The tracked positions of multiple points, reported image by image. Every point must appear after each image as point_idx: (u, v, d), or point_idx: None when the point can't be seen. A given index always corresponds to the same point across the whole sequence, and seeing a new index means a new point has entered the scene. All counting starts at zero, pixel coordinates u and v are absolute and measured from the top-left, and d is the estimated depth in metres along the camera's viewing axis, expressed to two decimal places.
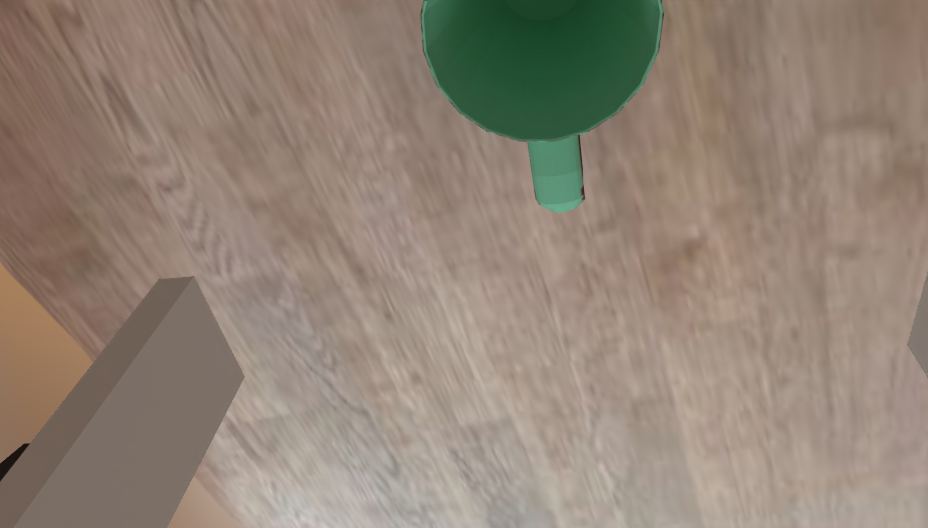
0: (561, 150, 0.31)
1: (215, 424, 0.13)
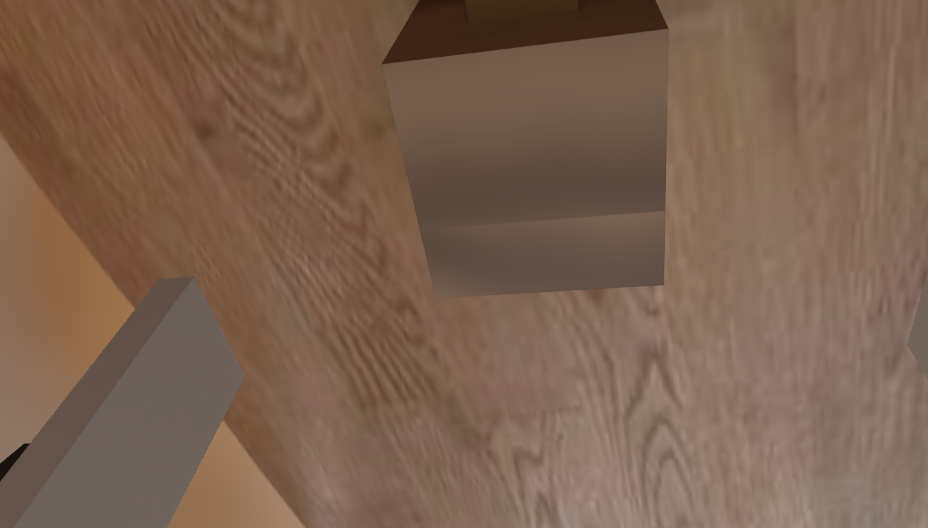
0: None
1: (215, 424, 0.13)
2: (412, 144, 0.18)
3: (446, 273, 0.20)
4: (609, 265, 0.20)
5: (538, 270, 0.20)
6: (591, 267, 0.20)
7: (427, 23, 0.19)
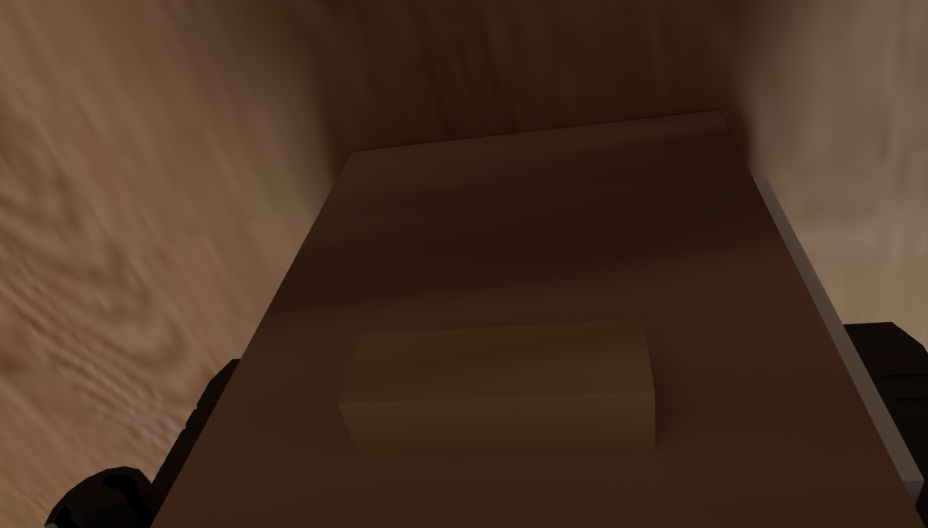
0: None
1: None
2: None
3: None
4: None
5: None
6: None
7: (265, 412, 0.08)
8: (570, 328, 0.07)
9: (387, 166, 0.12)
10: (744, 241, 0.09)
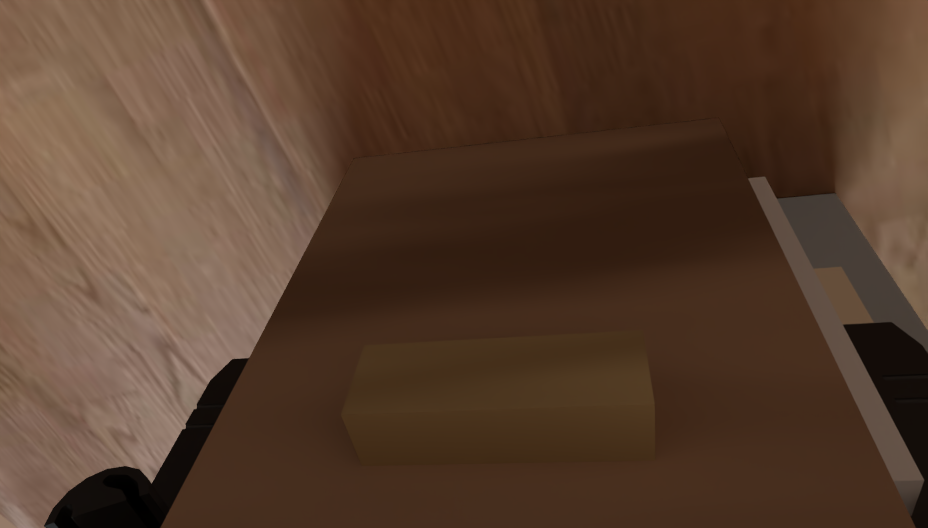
0: None
1: None
2: None
3: None
4: None
5: None
6: None
7: (269, 421, 0.08)
8: (571, 339, 0.07)
9: (389, 173, 0.13)
10: (743, 250, 0.09)
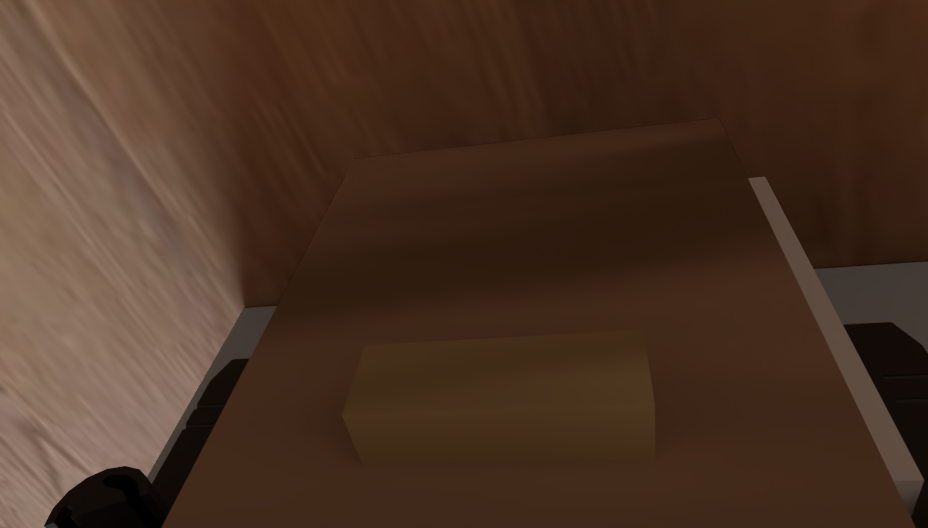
0: None
1: None
2: None
3: None
4: None
5: None
6: None
7: (269, 421, 0.08)
8: (571, 339, 0.07)
9: (389, 174, 0.13)
10: (743, 250, 0.09)
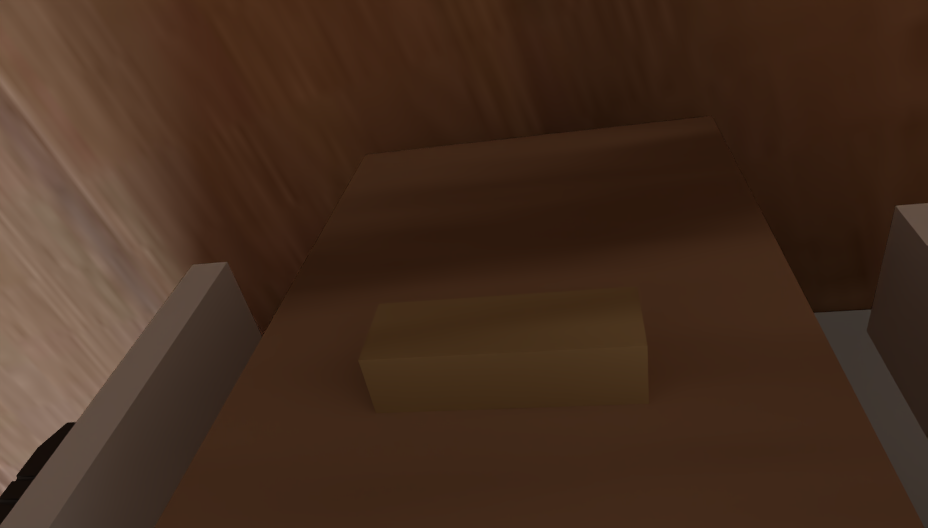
0: None
1: None
2: None
3: None
4: None
5: None
6: None
7: (289, 377, 0.08)
8: (571, 295, 0.07)
9: (399, 167, 0.13)
10: (733, 228, 0.09)
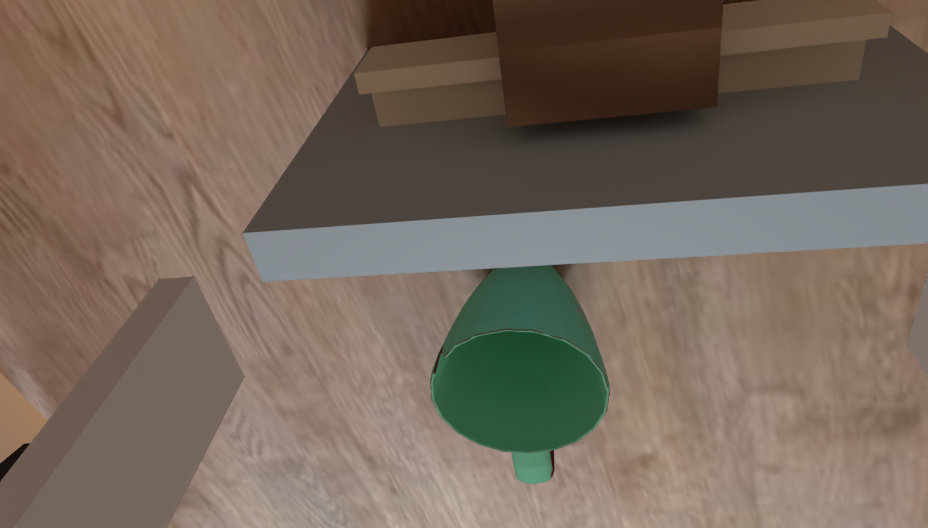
0: None
1: (215, 424, 0.13)
2: None
3: (519, 99, 0.23)
4: (668, 87, 0.22)
5: (603, 94, 0.22)
6: (652, 89, 0.22)
7: None
8: None
9: None
10: None
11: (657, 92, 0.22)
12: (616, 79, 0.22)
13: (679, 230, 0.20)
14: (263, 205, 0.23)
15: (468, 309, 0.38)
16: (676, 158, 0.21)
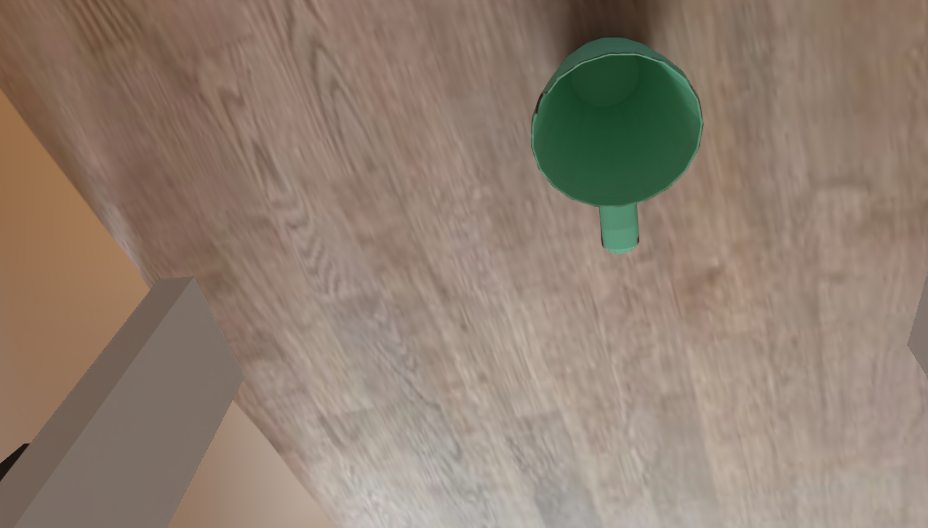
0: (624, 211, 0.42)
1: (215, 424, 0.13)
2: None
3: None
4: None
5: None
6: None
7: None
8: None
9: None
10: None
11: None
12: None
13: None
14: None
15: (563, 62, 0.40)
16: None
